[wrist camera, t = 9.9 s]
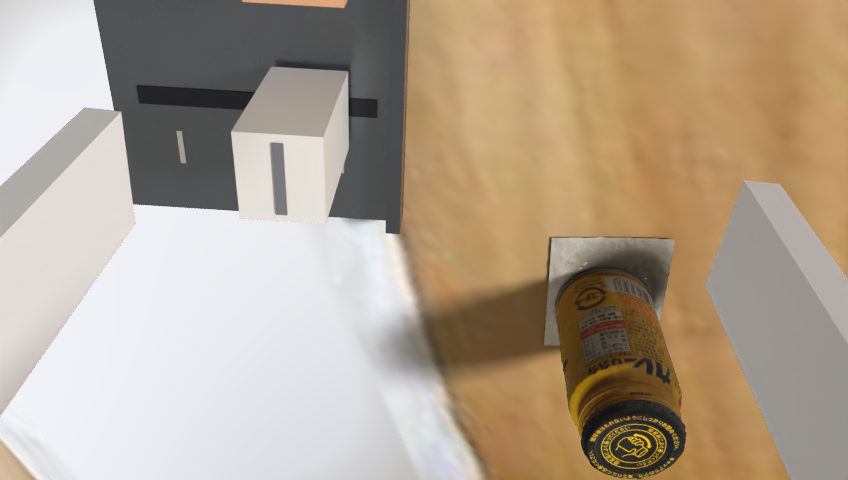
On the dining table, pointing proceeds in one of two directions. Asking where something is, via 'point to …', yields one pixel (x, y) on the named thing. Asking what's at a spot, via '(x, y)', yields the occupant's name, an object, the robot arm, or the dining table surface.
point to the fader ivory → (292, 145)
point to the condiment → (616, 351)
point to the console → (252, 92)
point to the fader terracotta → (304, 2)
